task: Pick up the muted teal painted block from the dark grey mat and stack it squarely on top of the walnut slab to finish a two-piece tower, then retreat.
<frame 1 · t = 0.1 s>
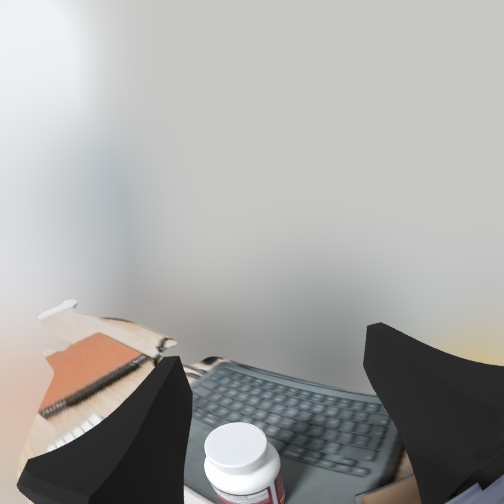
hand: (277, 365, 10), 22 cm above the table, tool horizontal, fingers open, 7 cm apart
pill bottle: (254, 499, 19), on the table
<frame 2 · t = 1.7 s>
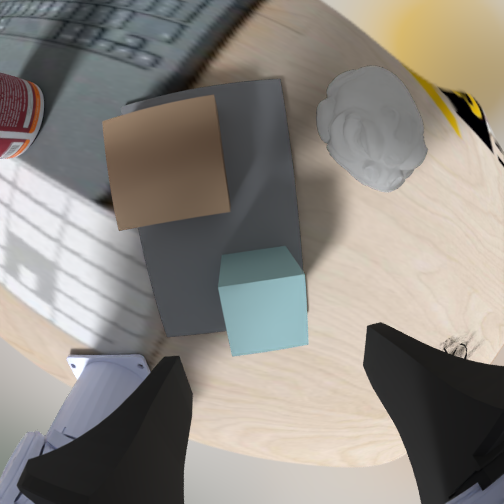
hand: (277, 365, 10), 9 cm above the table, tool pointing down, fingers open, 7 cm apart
walnut slab: (174, 163, 16), resting on mat
pill bottle: (21, 120, 14), on the table
teal block: (257, 279, 18), resting on mat
mat: (215, 214, 17), on the table
grey rounded lumpy piece: (345, 132, 16), on the table
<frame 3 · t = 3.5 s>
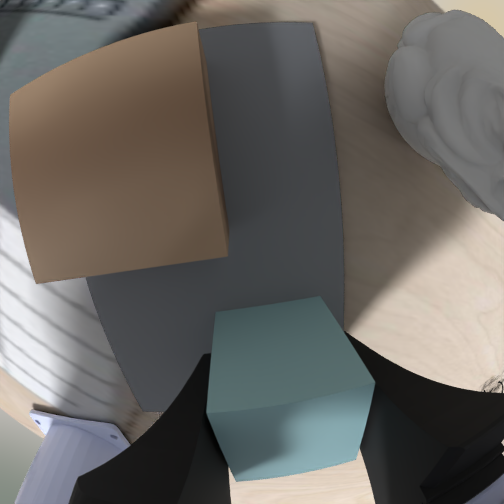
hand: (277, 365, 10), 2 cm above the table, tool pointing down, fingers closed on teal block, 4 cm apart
walnut slab: (131, 159, 9), resting on mat
teal block: (273, 346, 11), resting on mat, touching gripper
mat: (204, 245, 10), on the table
grey rounded lumpy piece: (409, 115, 9), on the table
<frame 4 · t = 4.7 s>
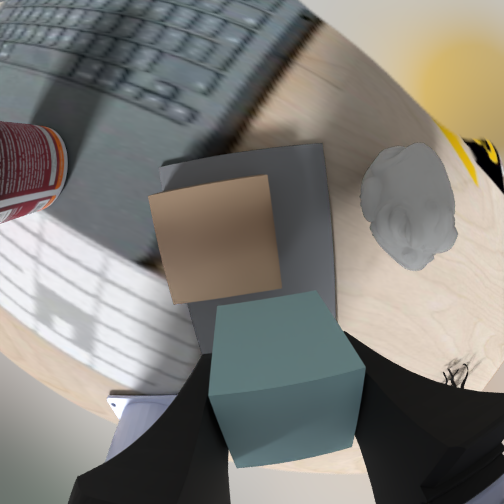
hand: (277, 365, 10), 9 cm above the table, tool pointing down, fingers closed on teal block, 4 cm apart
walnut slab: (219, 231, 17), resting on mat
pill bottle: (41, 168, 15), on the table
teal block: (272, 339, 12), point 7 cm above the table, touching gripper
mat: (259, 276, 18), on the table
grey rounded lumpy piece: (378, 194, 18), on the table
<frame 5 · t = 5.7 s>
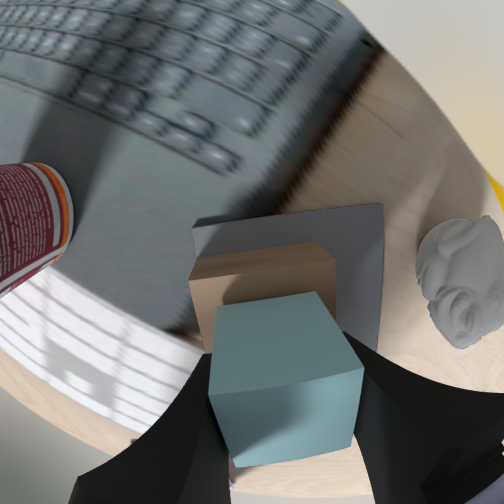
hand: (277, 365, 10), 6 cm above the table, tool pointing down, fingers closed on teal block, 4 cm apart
walnut slab: (263, 303, 15), resting on mat
pill bottle: (41, 213, 13), on the table
teal block: (271, 339, 12), point 4 cm above the table, touching gripper
mat: (302, 344, 16), on the table
grey rounded lumpy piece: (427, 255, 15), on the table
when the fingers open (6 cm above the table, at t = 6.4 s): teal block stays where it is, resting on walnut slab.
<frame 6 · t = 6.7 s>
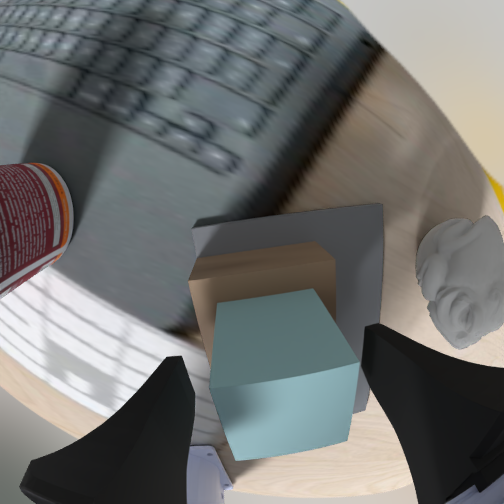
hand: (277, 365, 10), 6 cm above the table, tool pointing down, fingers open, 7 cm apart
walnut slab: (263, 303, 15), resting on mat, touching teal block
pill bottle: (41, 213, 13), on the table
teal block: (270, 336, 12), point 3 cm above the table, touching walnut slab
mat: (301, 344, 16), on the table
grey rounded lumpy piece: (427, 255, 15), on the table
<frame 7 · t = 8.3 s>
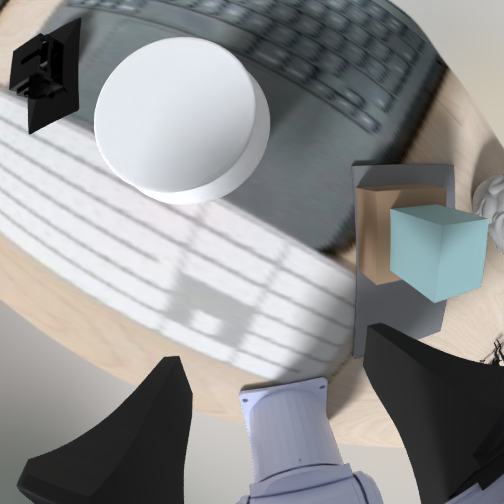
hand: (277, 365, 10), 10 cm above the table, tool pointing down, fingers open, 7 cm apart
walnut slab: (392, 225, 19), resting on mat, touching teal block
pill bottle: (207, 144, 17), on the table
black bracket: (56, 74, 15), on the table
creature: (487, 357, 26), on the table
teal block: (414, 236, 16), point 3 cm above the table, touching walnut slab
mat: (408, 263, 20), on the table
grey rounded lumpy piece: (475, 204, 19), on the table
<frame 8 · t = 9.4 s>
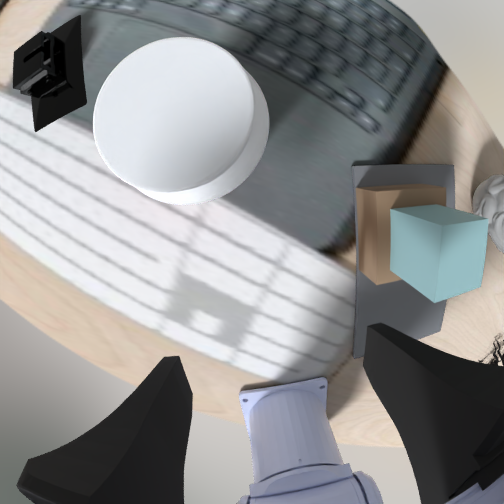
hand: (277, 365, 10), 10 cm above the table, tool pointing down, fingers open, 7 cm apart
walnut slab: (392, 225, 19), resting on mat, touching teal block
pill bottle: (207, 144, 17), on the table
black bracket: (58, 72, 15), on the table
creature: (486, 357, 26), on the table
teal block: (414, 236, 16), point 3 cm above the table, touching walnut slab
mat: (408, 263, 20), on the table
grey rounded lumpy piece: (476, 204, 19), on the table
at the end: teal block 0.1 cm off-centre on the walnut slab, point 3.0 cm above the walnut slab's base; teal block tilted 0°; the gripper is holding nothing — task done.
